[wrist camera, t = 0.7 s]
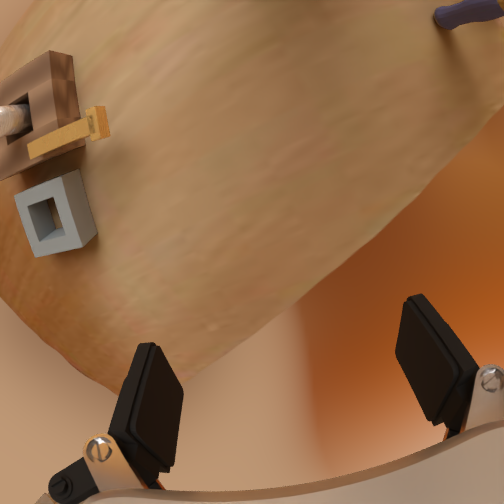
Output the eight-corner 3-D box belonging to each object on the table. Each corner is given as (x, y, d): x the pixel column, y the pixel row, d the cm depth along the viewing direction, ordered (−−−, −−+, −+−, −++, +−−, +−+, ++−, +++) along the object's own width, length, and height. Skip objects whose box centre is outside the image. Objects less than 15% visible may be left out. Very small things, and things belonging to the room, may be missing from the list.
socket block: (7, 93, 28) (-17, 95, 22) (72, 55, 27) (49, 50, 22) (20, 172, 34) (-3, 182, 28) (85, 144, 33) (63, 150, 28)
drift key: (37, 135, 26) (25, 138, 24) (104, 106, 26) (94, 106, 24) (42, 161, 28) (31, 165, 26) (110, 136, 28) (100, 138, 25)
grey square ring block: (32, 186, 35) (13, 195, 31) (79, 168, 35) (60, 176, 30) (51, 243, 39) (35, 257, 35) (97, 232, 39) (82, 247, 35)
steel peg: (30, 109, 30) (-23, 116, 19) (49, 98, 30) (-6, 101, 19) (34, 132, 31) (-19, 145, 21) (52, 123, 31) (-2, 133, 21)
